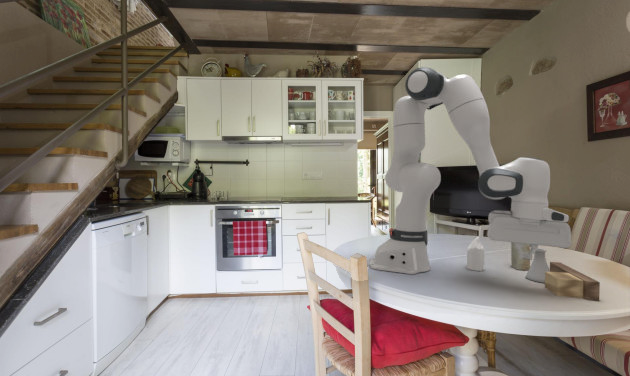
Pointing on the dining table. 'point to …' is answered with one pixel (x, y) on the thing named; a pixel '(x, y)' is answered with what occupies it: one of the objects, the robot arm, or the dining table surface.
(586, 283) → the walnut board
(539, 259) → the flask
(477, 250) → the white bottle
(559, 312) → the dining table surface
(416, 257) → the robot arm
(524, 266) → the box
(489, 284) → the dining table surface
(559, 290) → the oak block
